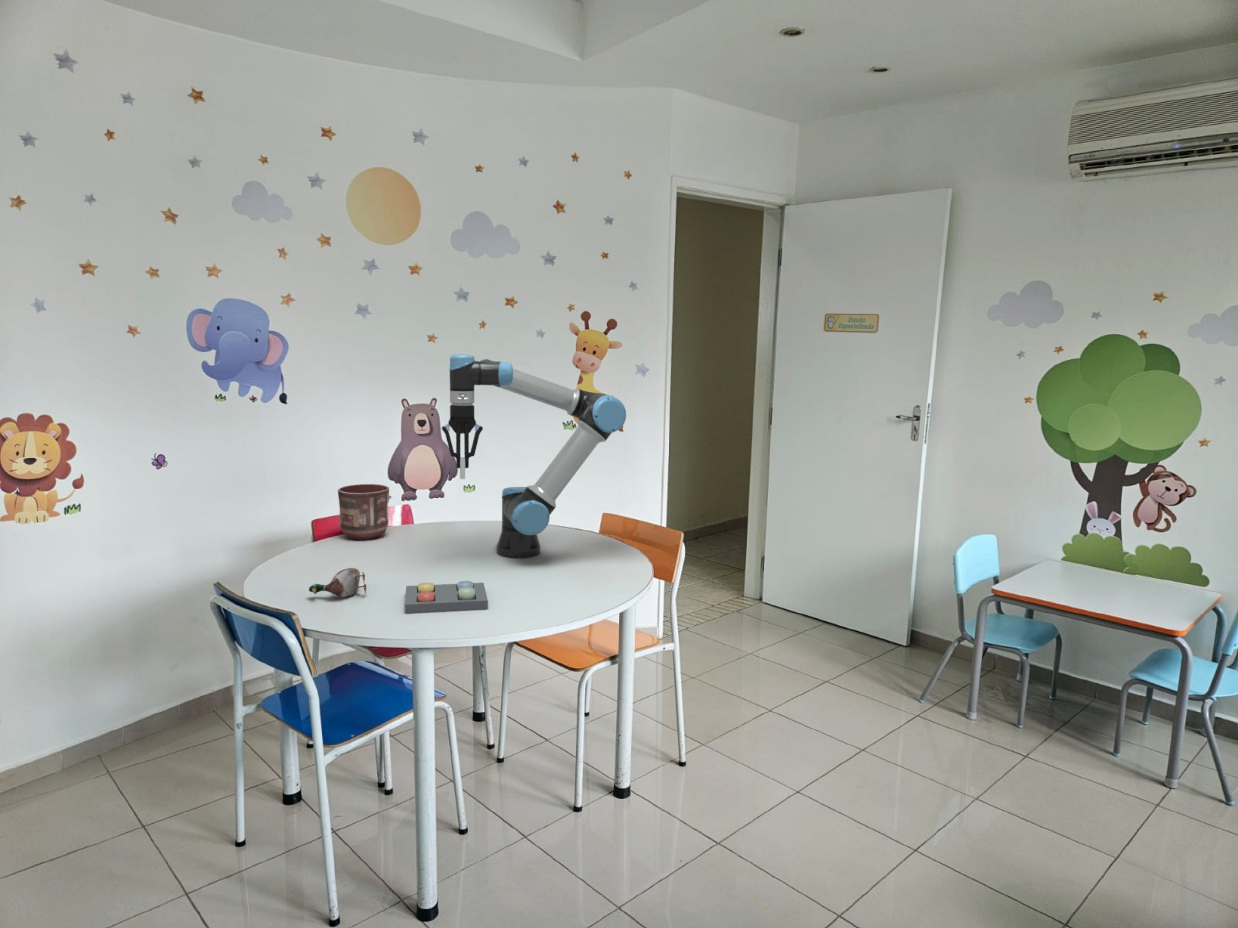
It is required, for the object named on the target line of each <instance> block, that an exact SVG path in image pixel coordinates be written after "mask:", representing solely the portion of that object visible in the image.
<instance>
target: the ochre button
mask: <svg viewBox="0 0 1238 928" xmlns="http://www.w3.org/2000/svg"><path fill="white" fill-rule="evenodd" d="M434 585H435V584H434V583H432V582H421V583H419V584H417V586H418V593H420V592H426V591H429V592H434Z"/></svg>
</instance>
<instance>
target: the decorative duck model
mask: <svg viewBox="0 0 1238 928" xmlns="http://www.w3.org/2000/svg"><path fill="white" fill-rule="evenodd" d="M361 577H362V580H363V585H360V581H361V580H360V579H361ZM365 579H366V575H365V573H364V572H363V571H362V574H361V572H360V570H359V569H357V568H355V567H348V568H345V569H341V570H339V571H337V573H335V575H334V576H333V578H332V579H331V581H330V582H329V583H328V584H320V583H314V584H312V585H310V586H309V587H308V591H309V592H310V593H313V594H314V595H316V594H318V593H320V592H328V593H331V594H333V595H334V596H336V597H337V598H338V597H339V598H347V597H349V596H352V595H353V594H355V593H356V592H357V590H358V589H359V588H363V590H364V594H367V584H366V582H365Z"/></svg>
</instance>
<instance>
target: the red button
mask: <svg viewBox="0 0 1238 928" xmlns="http://www.w3.org/2000/svg"><path fill="white" fill-rule="evenodd" d="M432 601H434V593H433V592H429V591H426V592H420V593H418V602H432Z"/></svg>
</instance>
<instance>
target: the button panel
mask: <svg viewBox="0 0 1238 928" xmlns="http://www.w3.org/2000/svg"><path fill="white" fill-rule="evenodd" d="M405 588H406V589H405V601H404V614H407V615H408V614H421V613H422V614H423V613H425V614H426V613H440V612H441V613H442V612H444V613H445V612H460V611H461V612H462V611H481V610H484V611H485V610H488V608H489V603H488V602H489V600H488V595H487V591H486V587H485V583H484V582H473V588H474V589H475V599H474V600H459V591H457V583H446V584H445V583H442V584H434V592H433V593H434V601H432V602H418V585H406V587H405Z"/></svg>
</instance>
